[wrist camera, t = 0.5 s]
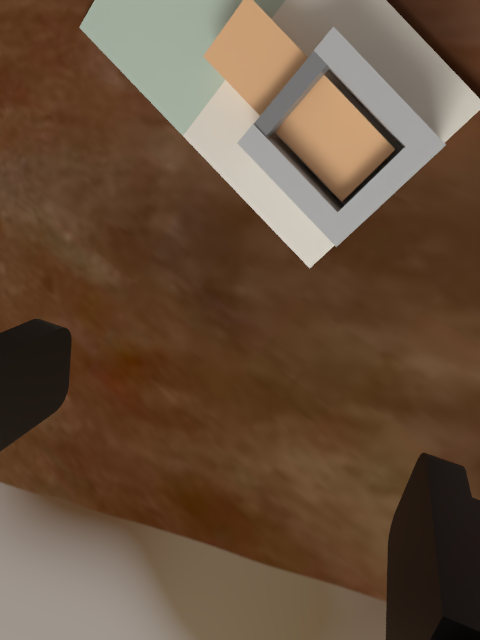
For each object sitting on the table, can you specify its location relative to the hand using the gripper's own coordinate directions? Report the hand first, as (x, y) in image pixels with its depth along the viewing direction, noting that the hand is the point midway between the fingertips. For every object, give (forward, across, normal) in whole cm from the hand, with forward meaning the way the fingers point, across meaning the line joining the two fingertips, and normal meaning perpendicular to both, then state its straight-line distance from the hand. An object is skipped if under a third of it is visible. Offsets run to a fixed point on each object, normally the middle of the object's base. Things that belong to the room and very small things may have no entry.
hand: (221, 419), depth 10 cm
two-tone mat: (+24, +8, -10) cm, 28 cm away
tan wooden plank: (+24, +5, -8) cm, 25 cm away
